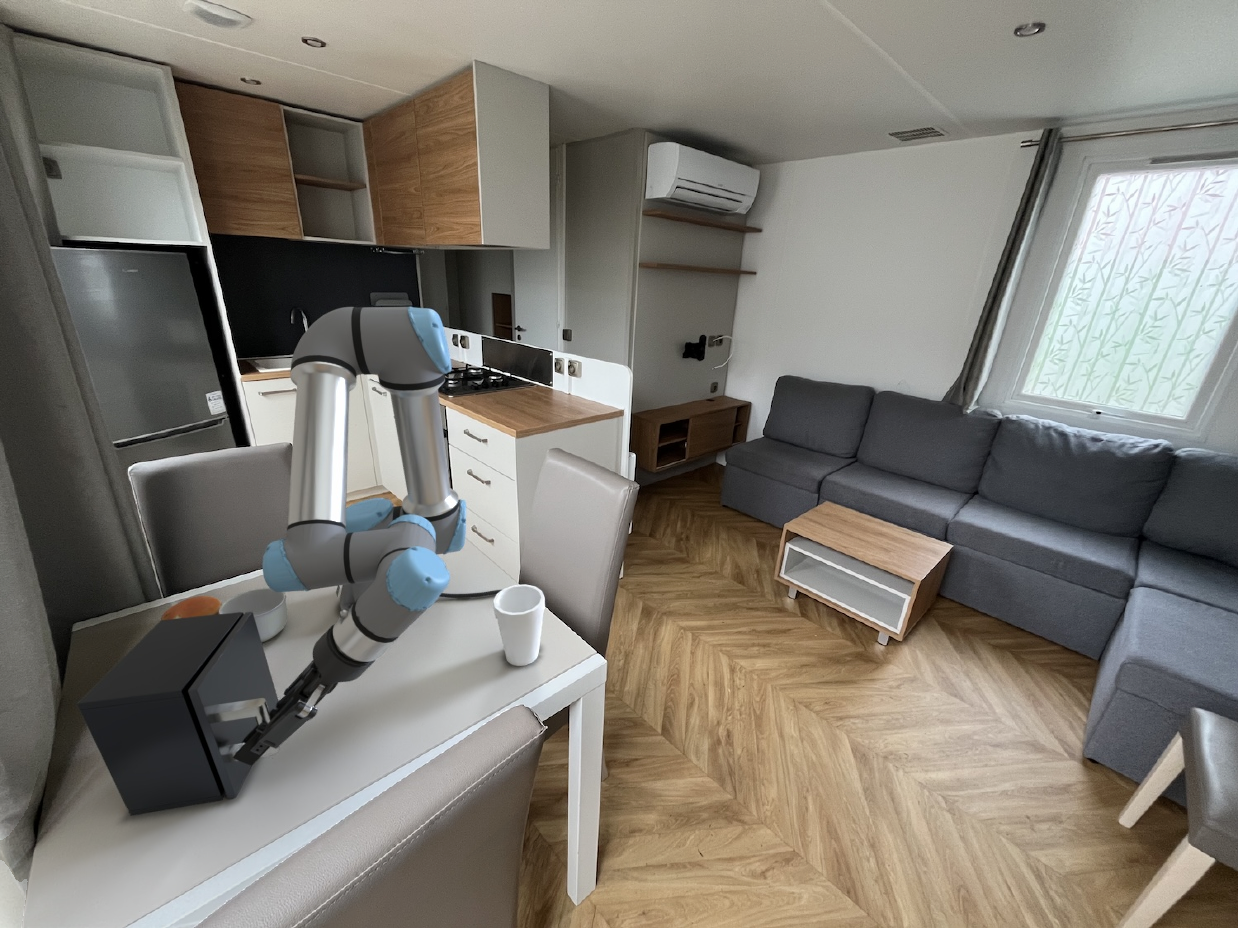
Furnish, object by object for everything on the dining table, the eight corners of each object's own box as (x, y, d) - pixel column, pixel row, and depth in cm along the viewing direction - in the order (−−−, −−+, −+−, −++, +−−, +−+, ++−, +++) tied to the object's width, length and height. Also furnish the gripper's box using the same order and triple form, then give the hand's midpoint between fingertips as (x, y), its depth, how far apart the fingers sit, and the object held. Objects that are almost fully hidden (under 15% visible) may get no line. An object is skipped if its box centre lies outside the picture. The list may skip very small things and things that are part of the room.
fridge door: (318, 701, 85) (294, 606, 78) (282, 788, 71) (249, 681, 64) (273, 708, 84) (245, 612, 77) (227, 799, 69) (187, 690, 62)
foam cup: (556, 654, 97) (554, 599, 93) (517, 679, 91) (513, 621, 86) (526, 631, 103) (523, 578, 99) (488, 654, 97) (483, 598, 92)
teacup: (250, 618, 105) (241, 586, 103) (303, 616, 106) (295, 584, 104) (204, 665, 92) (192, 631, 90) (265, 663, 93) (255, 628, 91)
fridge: (272, 709, 84) (243, 611, 77) (222, 800, 69) (180, 690, 62) (198, 719, 81) (161, 619, 74) (130, 816, 67) (76, 703, 60)
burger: (230, 604, 109) (224, 587, 108) (218, 630, 102) (212, 612, 100) (174, 616, 105) (167, 598, 104) (157, 644, 98) (150, 625, 96)
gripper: (347, 594, 72) (247, 699, 75) (310, 667, 59) (189, 791, 61) (391, 620, 75) (293, 719, 78) (365, 695, 62) (247, 813, 64)
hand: (248, 751), depth 69 cm, fingers closed on fridge door, 2 cm apart
